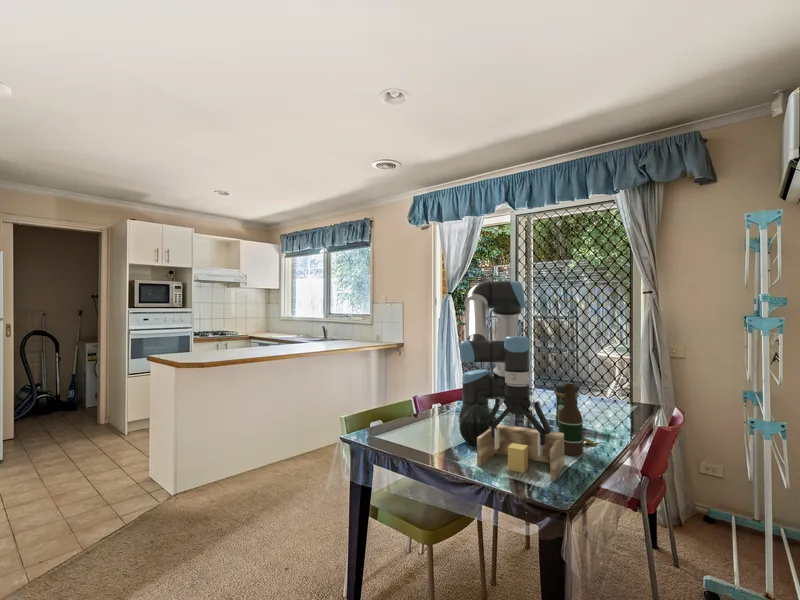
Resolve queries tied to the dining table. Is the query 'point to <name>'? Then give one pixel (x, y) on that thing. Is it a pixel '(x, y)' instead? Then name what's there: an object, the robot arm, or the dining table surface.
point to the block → (518, 457)
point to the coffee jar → (562, 399)
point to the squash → (474, 423)
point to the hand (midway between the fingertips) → (517, 451)
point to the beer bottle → (571, 423)
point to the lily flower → (588, 440)
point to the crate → (524, 436)
